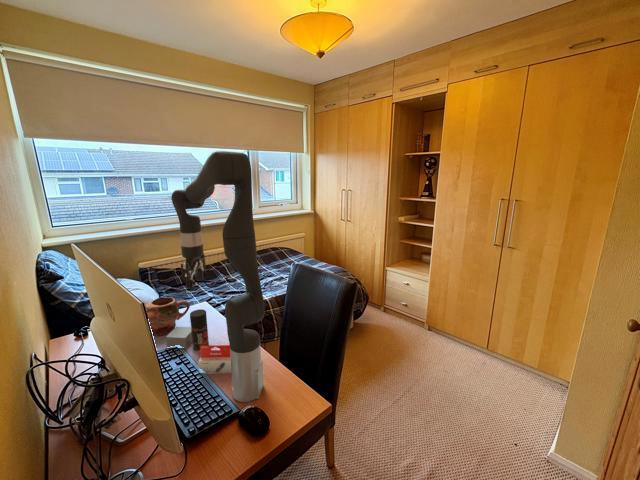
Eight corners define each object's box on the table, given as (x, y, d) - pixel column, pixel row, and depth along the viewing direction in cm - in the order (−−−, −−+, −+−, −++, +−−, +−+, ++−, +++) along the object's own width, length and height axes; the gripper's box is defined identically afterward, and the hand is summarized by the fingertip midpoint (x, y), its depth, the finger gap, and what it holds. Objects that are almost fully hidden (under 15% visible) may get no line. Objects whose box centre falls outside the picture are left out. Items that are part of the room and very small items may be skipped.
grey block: (195, 337, 122) (194, 327, 121) (186, 348, 115) (185, 337, 113) (177, 337, 123) (176, 326, 122) (167, 348, 115) (165, 336, 114)
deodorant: (196, 352, 112) (192, 318, 109) (191, 346, 117) (187, 312, 113) (211, 347, 116) (208, 313, 113) (205, 340, 120) (203, 308, 117)
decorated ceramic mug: (186, 317, 140) (184, 290, 136) (195, 327, 131) (192, 299, 128) (139, 330, 127) (135, 302, 124) (144, 343, 118) (140, 312, 115)
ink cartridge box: (231, 373, 101) (229, 348, 99) (199, 374, 101) (196, 349, 98) (232, 368, 104) (231, 344, 102) (201, 369, 103) (199, 345, 101)
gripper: (192, 248, 99) (196, 292, 103) (209, 239, 113) (212, 278, 117) (171, 248, 100) (176, 291, 103) (191, 239, 113) (194, 277, 117)
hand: (195, 284), depth 110 cm, fingers open, 8 cm apart
